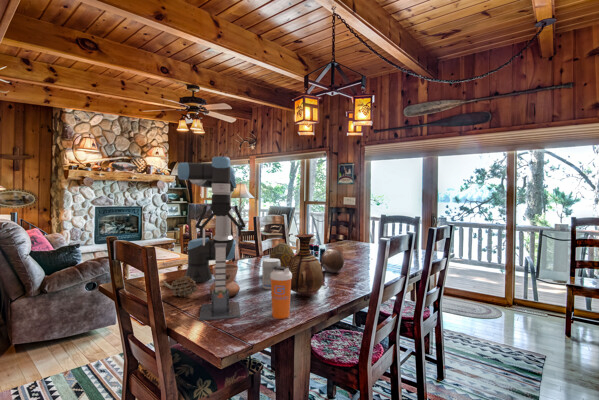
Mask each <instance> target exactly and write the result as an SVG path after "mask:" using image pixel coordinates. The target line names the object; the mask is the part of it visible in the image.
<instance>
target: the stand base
mask: <svg viewBox="0 0 599 400" xmlns="http://www.w3.org/2000/svg"><path fill="white" fill-rule="evenodd" d="M241 317H242V315H241V309H240V302H239V301H233V302H231V301H230V297H229V289H226V293H222V292H221V293H215V290H212V294H211V303H202V304H201V307H200V312H199V317H198V319H199V321H209V320H222V319H224V320H225V319H236V318H241Z"/></svg>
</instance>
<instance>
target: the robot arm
mask: <svg viewBox="0 0 599 400" xmlns="http://www.w3.org/2000/svg"><path fill="white" fill-rule="evenodd" d="M211 160H212V161H211V163H209V162H201V163H200V162H198V163H197V162H187V161H185V162H179V163H177V178H178V179H179V180H183V181H189V182H190V183H191V184H193V185H195V186H198V187H201V188H208V189H211V193H212V194H211V205H203V211H202V213H201V214H200V217H199V218H198V220H197V222H196V224H195V229H198V230H199V236H200V237H199V238H194V239H192V240H189V241H188V243H187V268H186V270H185V271H186V272H185V274H184V278H185V277H186V276H189V277H190V279H191V278H192V280H194V281H196V282H195V283H204V282H207V281H210V280H212V279H213V274H212V273H213V272H212V270H211V268H210V261H215V260H216V248H215V243H227V247H226V261H231V260H233V259H234V257H235V254H236V253H235V252H236V245H237V246H238V245H239V237H241V236H242V229H243V228H246V224H245V222H244V220H243V218H242V216H241V214H240V212H239V207H238V205H232V194H233V193H234V190H235V189H236V188H237V182H236V173H235V168H233V167H231V159H230V157H228V156H213V157H212V159H211ZM209 210H211V212H212V213H211V214H210V215H209V216H208V218H207V219H206V220H205V221H204V222H203V223H202V221H203V219H204V217H205V215H206V213H207V212H208V211H209ZM232 211H233V212H235V214H236V216H237V218H238V220H239V222H240V224H239V223H238V221H237V220H236V219H235V218H234V216H233V215H232ZM214 217H215V234H214V236H213V237H212V240H210V238H209V237H206V229H205V226H207V224H209V222H210V221H211V220H212V219H213V218H214ZM232 222H233V224H234V225H235V226H236V228H235V229H236V230H235V237H236V238H235V239H234V236H233V235H232ZM201 223H202V224H201Z"/></svg>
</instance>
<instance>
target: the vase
mask: <svg viewBox="0 0 599 400" xmlns="http://www.w3.org/2000/svg"><path fill="white" fill-rule="evenodd" d="M294 237H295V238H297V239H298V242H299V249H298V253H297V254H295V256H291V260H290V262H289V264H288V266H289V267H290V272H291V273H292V279H291V291H292V292H295V293H297V294H299V295H301V296H302V297H307V296H309V295H310V294H313V293H315V292H317V291H318V292H319V290H320V289H322V286H323V283H324V277H323V276H324V275H323V267H322V265H321V262H319V260H318V258H317V257H316V256H315V255H313V254H312V253H311V251H310V250H311V249H310V245H311V244H310V242H311V240H312V238H314V237H315V234H311V233H310V234H309V233H305V234H296V235H294Z"/></svg>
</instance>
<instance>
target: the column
mask: <svg viewBox="0 0 599 400" xmlns="http://www.w3.org/2000/svg"><path fill="white" fill-rule="evenodd" d="M226 247H227V243H215V248H216V260H214V261H215V262H214V263H215V269H216V271H215V275H216V277H214V280H215V281H214V283H215V293H221V292H222V293H226V288H225V287H226V282H225V281H226V276H225V275H226V271H225V269H226V264H227V263H226V262H227V260H226Z"/></svg>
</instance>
